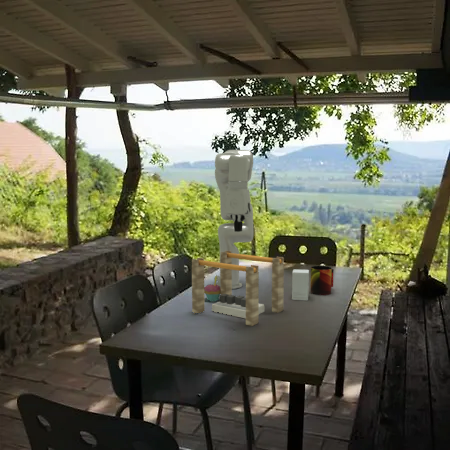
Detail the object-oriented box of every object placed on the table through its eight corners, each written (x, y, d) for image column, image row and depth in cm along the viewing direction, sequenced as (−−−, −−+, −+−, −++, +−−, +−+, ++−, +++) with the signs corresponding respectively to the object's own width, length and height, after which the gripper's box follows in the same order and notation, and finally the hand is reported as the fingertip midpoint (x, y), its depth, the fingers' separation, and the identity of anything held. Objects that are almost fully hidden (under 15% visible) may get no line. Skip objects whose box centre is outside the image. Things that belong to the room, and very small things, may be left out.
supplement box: (308, 300, 220) (308, 273, 218) (291, 300, 221) (291, 272, 220) (308, 296, 227) (309, 269, 226) (292, 295, 229) (292, 268, 227)
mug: (333, 288, 241) (333, 264, 239) (329, 296, 228) (330, 270, 226) (313, 287, 244) (313, 263, 242) (308, 294, 231) (309, 269, 229)
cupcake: (225, 298, 224) (225, 272, 222) (217, 303, 216) (217, 276, 214) (208, 296, 227) (208, 271, 226) (199, 301, 220) (199, 275, 218)
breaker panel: (212, 311, 205) (211, 297, 204) (228, 304, 214) (228, 291, 214) (248, 319, 194) (248, 304, 194) (264, 311, 204) (264, 297, 203)
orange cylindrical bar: (221, 256, 217) (221, 252, 217) (224, 256, 219) (224, 251, 219) (280, 264, 201) (280, 259, 201) (282, 263, 202) (282, 258, 202)
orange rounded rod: (193, 264, 201) (193, 259, 201) (196, 263, 203) (196, 259, 202) (254, 273, 185) (254, 268, 184) (257, 272, 186) (257, 267, 186)
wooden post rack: (192, 312, 203) (191, 259, 200) (226, 299, 222) (226, 250, 220) (252, 326, 186) (252, 267, 183) (283, 310, 206) (283, 257, 203)
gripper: (217, 185, 199) (217, 231, 201) (248, 186, 190) (248, 233, 192) (228, 185, 205) (228, 229, 207) (259, 185, 196) (258, 231, 198)
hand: (238, 231), depth 200 cm, fingers closed
